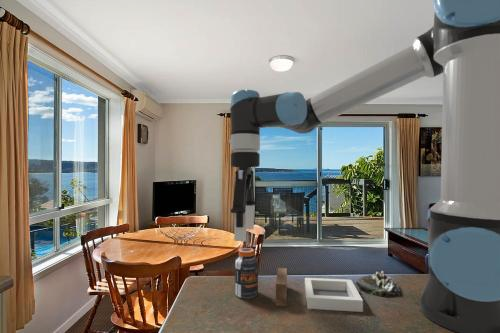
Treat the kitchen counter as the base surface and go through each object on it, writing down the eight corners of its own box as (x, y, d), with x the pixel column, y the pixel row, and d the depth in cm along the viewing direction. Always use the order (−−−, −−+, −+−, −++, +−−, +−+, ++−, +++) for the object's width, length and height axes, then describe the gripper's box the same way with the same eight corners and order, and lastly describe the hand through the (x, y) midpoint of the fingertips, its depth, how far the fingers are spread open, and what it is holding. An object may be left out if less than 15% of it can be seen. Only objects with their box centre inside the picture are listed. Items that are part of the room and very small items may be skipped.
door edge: (286, 286, 75) (286, 268, 75) (286, 306, 64) (286, 284, 64) (278, 286, 76) (277, 267, 76) (276, 305, 65) (275, 284, 65)
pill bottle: (240, 301, 67) (239, 253, 67) (231, 291, 73) (231, 247, 73) (262, 296, 70) (261, 250, 70) (252, 287, 75) (251, 245, 75)
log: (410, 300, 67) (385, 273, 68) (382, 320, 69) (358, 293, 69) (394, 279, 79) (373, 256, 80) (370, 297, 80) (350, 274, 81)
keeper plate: (351, 289, 73) (351, 279, 73) (363, 311, 61) (362, 300, 61) (304, 287, 75) (304, 277, 75) (307, 308, 63) (307, 297, 63)
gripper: (239, 154, 85) (239, 224, 85) (218, 148, 60) (218, 246, 60) (264, 154, 84) (263, 225, 83) (253, 147, 59) (253, 248, 59)
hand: (244, 234), depth 72 cm, fingers open, 13 cm apart
